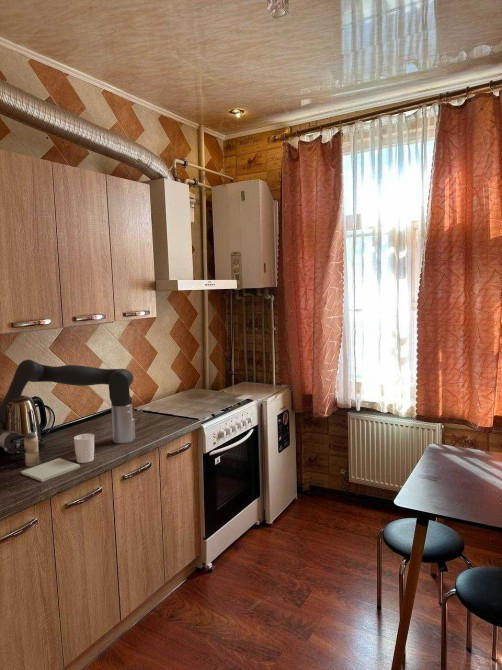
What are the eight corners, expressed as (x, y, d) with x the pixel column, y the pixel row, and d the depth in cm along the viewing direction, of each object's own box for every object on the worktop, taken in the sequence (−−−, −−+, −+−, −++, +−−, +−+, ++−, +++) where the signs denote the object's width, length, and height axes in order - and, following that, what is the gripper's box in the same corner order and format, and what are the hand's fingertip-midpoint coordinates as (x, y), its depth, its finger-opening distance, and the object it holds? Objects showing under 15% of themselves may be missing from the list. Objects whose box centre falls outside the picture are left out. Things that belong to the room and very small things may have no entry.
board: (59, 460, 186) (59, 458, 186) (80, 467, 178) (80, 464, 178) (21, 473, 173) (21, 471, 173) (42, 481, 165) (42, 479, 165)
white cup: (71, 460, 186) (70, 436, 185) (90, 455, 192) (89, 432, 191) (80, 465, 180) (78, 441, 179) (98, 460, 186) (97, 436, 185)
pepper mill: (35, 460, 186) (33, 431, 185) (41, 463, 183) (40, 433, 182) (23, 464, 182) (21, 434, 181) (30, 467, 179) (28, 436, 178)
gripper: (-6, 437, 184) (16, 444, 175) (28, 428, 196) (50, 434, 186) (-5, 454, 185) (17, 462, 175) (29, 444, 196) (51, 451, 187)
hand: (34, 448), depth 181 cm, fingers open, 7 cm apart
